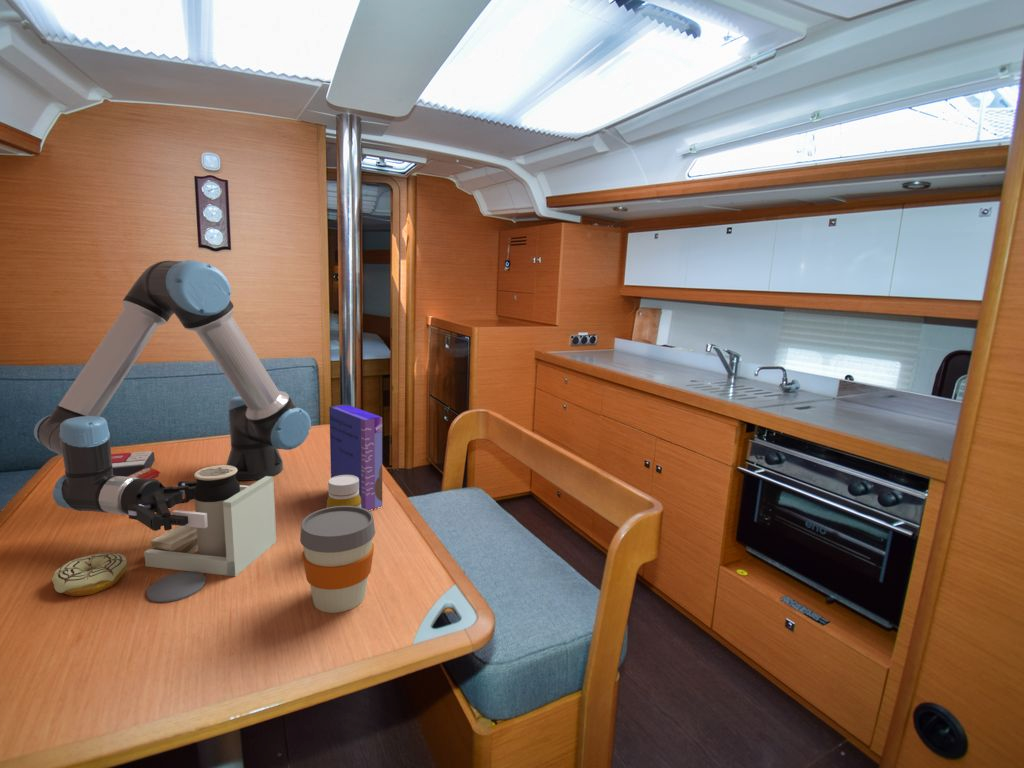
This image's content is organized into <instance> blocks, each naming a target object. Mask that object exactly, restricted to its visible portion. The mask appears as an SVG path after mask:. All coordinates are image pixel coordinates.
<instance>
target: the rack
mask: <svg viewBox="0 0 1024 768" xmlns="http://www.w3.org/2000/svg"><path fill="white" fill-rule="evenodd" d="M274 485H275V484H274V476H265V477H264V478H262V479H258V480H257V481H255V482H254V483H252V484H250V485H248V486H249V487H247V488H245V489H244V490H242V491H240V492H239V493H237V494H235V495H234V496H232V497H230V498H229V499H227V500H225V501H224V502H223V511H224V527H225V542H226V557H217V556H208V555H199V553H193V554H190V553H181V552H171V551H162V550H153V548H151V549H150V548H149V549H147V550H146V551H144V553H143V554H144V562H145V564H144V565H145V567H149V568H157V569H158V568H159V569H166V570H176V571H182V572H199V573H201V574H211V575H217V576H218V575H220V576H228V577H236V576H238V575H239V574H241V572H242V571H244V570H245V569H246V568H247V567H249V566H250V565H251V564H252V563H253V562H255V561H256V560H257V559H258V558H259V557H260V556H262V555H263V554H264V553H265V552H266V551H268V550H269V549H270V548H271V547H273V546H274V545H275V544H277V532H276V531H277V529H276V528H277V527H276V526H277V525H276V507H275V491H274V490H275V486H274Z"/></svg>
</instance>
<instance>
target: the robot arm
mask: <svg viewBox="0 0 1024 768" xmlns="http://www.w3.org/2000/svg"><path fill="white" fill-rule="evenodd" d="M231 294H232V289H231V285H230V282H229V280H228V278H227V277H226V275H225V274H224V273H223V272H222V271H221V270H220V269H218V268H217V267H216V266H213V265H212V264H209V263H207V262H202V261H198V260H162V261H158V262H155V263H154V264H152V265H149V266H148V267H147V268H146V269H145V270H144V271H143V272H142V274H140V276H139V277H138V278H137V279H136V281H135V282H134V284H133V285H132V287H130V289H129V291H128V292H127V294H126V295H125V296H124V298H123V300H122V301H121V305H122V307H123V308H122V310H121V312H120V314H119V315H118V316H117V318H116V319H115V321H114V322H113V324H112V325H111V327H110V328H109V330H108V331H107V332H106V334H105V336H104V337H103V339H102V340H101V341H100V343H99V345H98V346H97V347H96V349H95V350H94V351H93V353H92V355H91V356H90V358H89V359H88V360H87V362H86V363H85V365H84V366H83V368H82V370H81V371H80V372H79V374H78V375H77V376H76V378H75V380H74V381H73V383H72V384H71V386H70V387H69V389H68V390H67V392H66V393H65V394H64V396H63V397H62V399H61V400H60V401H59V403H58V405H56V407H55V409H54V410H53V412H52V413H51V414H48V415H47V416H43V417H42V418H41V419H40V420H38V421H37V423H36V424H35V426H34V429H33V435H34V438H35V440H36V442H38V443H39V444H40V445H41V446H42V447H43V448H45V449H47V450H48V451H51V452H54V453H56V454H57V455H59V456H61V457H62V459H63V465H64V475H61V477H59V478H58V479H57V480H56V482H55V484H54V489H53V490H52V498H53V500H54V503H56V504H57V505H58V506H60V507H62V508H65V509H71V510H74V511H79V512H86V511H87V512H88V511H89V512H98V513H108V514H117V515H121V516H125V515H128V519H129V520H130V519H131V520H135V521H138V522H140V523H141V524H142V525H144V526H146V527H148V528H149V529H150V530H152V531H153V532H156V531H159V530H161V528H162V527H163V530H164V531H171V530H173V526H177V527H179V526H187V527H197V528H206V527H208V521H207V513H200V512H195V511H191V510H190V511H188V510H178V509H174V510H172V511H170V509H171V508H173V507H175V506H176V505H180V504H186V503H189V502H190V501H191V500H194V488H195V486H196V484H197V480H193V481H191V480H190V481H185V480H181V481H178V482H177V486H172V485H171V486H165V485H164V484H163V483H162V482H161V481H159V480H157V479H156V478H154V479H144V478H136V477H124V476H115V475H113V469H112V459H111V454H112V451H111V438H110V437H111V433H110V431H109V430H110V429H109V425H108V421H107V419H105V418H104V417H102V416H101V415H102V414H103V411H104V410H105V408H106V407H107V405H108V403H110V401H111V399H112V398H113V396H114V395H115V393H116V392H117V390H118V388H119V387H120V386H121V384H122V382H123V381H124V379H125V378H126V377H127V375H128V373H129V371H130V370H131V369H132V367H133V366H134V364H135V363H136V361H137V360H138V358H139V357H140V355H141V353H142V351H144V349H145V347H146V346H147V344H148V343H149V341H150V340H151V338H152V337H153V335H154V334H155V332H156V331H157V329H158V327H159V326H161V325H166V324H167V323H168V322H169V320H170V318H171V317H172V316H173V315H175V316H176V318H177V319H178V320H179V322H180V323H181V324H182V326H183V328H184V329H185V330H189V331H193V332H196V334H197V336H198V337H199V338H200V339H201V341H202V343H203V344H204V346H205V347H206V348H207V350H208V351H209V353H210V354H211V356H212V357H213V359H214V360H215V361H216V363H217V365H218V366H219V367H220V369H221V371H222V372H223V374H224V375H225V377H227V379H228V381H229V382H230V384H231V385H232V386H233V388H234V389H235V391H236V393H237V394H238V395H239V396H234V397H232V398H230V400H229V401H228V410H227V412H228V418H229V420H228V423H229V433H230V451H229V454H228V457H227V460H226V464H225V465H229V466H234V467H236V468H237V473H236V477H235V478H236V479H237V481H255V480H257V481H258V480H260V479H262V478H264V477H265V476H271V477H274V476H276V475H278V474H280V473H281V472H282V471H283V470H284V462H283V459H282V457H281V456H282V455H281V454H280V452H279V450H284V451H285V450H286V451H288V450H289V451H290V450H294V449H296V448H298V447H299V446H302V444H303V443H305V441H306V439H307V438H308V437H309V435H310V430H311V428H312V421H311V417H310V415H309V413H308V412H307V411H305V410H304V409H303V408H301V407H297V406H296V405H295V403H294V401H293V400H292V398H291V397H290V395H289V394H288V393H287V391H284V390H283V391H281V390H279V389H278V388H277V386H276V384H275V382H274V381H273V379H272V378H271V376H270V374H269V373H268V371H267V370H266V368H265V366H264V365H263V363H262V362H261V360H260V358H259V357H258V355H257V354H256V352H255V350H254V348H253V347H252V345H251V343H249V340H248V339H247V338H246V336H245V334H244V332H243V331H242V330H241V328H240V327H239V325H238V323H237V321H236V320H235V319H234V317H233V312H234V309H235V306H234V304H233V303H232V301H231ZM249 486H250V485H244V484H240V491H242V490H244V489H245V488H247V487H249ZM183 495H184V497H183ZM171 513H172V514H171Z"/></svg>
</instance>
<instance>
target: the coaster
mask: <svg viewBox="0 0 1024 768" xmlns="http://www.w3.org/2000/svg"><path fill="white" fill-rule="evenodd" d="M205 585H206V576H205V575H204V573H200V572H191V571H181V572H177V573H172V574H169V575H166V576H164V577H162V578H159V579H157V580H156V581H154V582H153V583H151V584H150V585H149V587H148V588H147V589H146V598H147V600H149V601H150V602H151V601H152V602H154V603H171V602H176V601H181V600H183V599H184V600H185V599H186V598H189V597H190V596H193V595H195V594H197V593H199V591H201V590H202V589H203V588H204V587H205Z"/></svg>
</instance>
